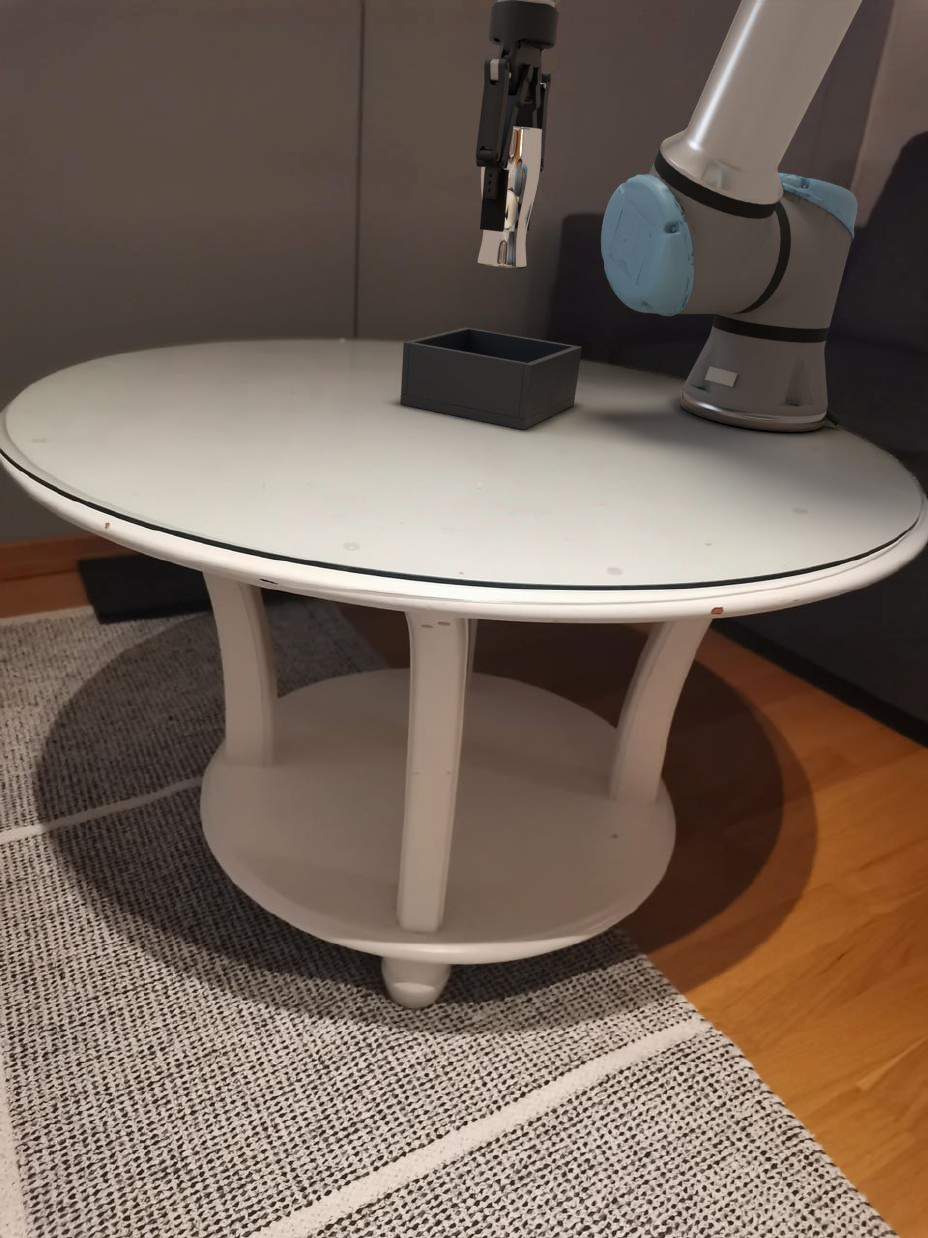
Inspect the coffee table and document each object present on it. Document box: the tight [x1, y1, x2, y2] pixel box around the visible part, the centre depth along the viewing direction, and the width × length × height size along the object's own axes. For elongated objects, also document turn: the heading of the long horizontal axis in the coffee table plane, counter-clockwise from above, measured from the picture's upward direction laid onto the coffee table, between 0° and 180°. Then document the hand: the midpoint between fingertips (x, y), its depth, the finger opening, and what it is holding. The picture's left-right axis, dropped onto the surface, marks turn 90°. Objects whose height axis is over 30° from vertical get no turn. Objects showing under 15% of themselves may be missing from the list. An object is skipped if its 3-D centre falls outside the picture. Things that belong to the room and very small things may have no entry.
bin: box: [399, 326, 583, 431], centre depth 95 cm, size 13×13×6 cm
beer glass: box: [476, 126, 542, 270], centre depth 111 cm, size 7×7×15 cm
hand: (505, 229), depth 113 cm, fingers closed on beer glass, 7 cm apart
